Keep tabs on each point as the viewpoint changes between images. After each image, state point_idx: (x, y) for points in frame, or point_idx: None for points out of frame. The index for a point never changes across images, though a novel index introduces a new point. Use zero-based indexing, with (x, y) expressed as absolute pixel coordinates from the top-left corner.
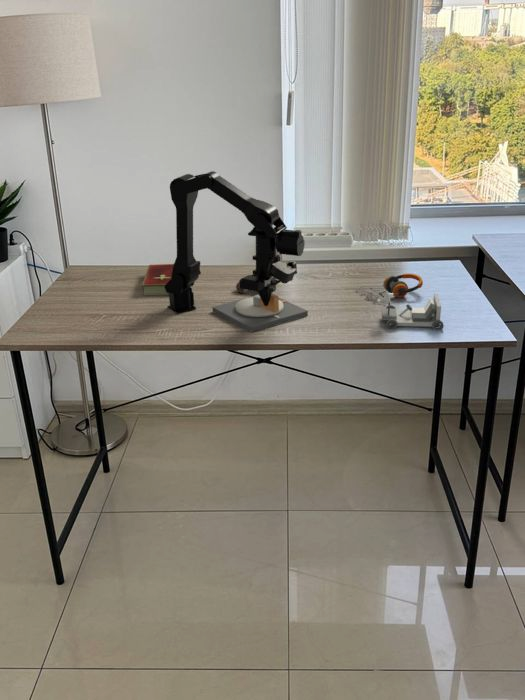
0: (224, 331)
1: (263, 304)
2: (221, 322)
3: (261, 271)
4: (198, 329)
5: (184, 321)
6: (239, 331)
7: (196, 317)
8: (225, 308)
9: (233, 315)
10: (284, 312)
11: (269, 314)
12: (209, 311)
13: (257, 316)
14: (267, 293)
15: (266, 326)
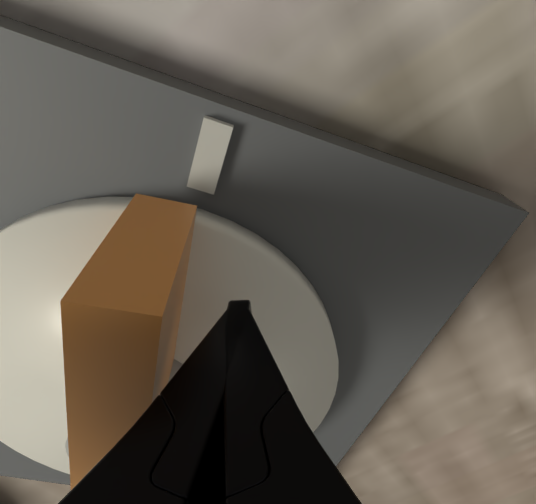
0: (525, 333)
1: (171, 360)
2: (401, 406)
3: None
4: (529, 428)
5: (452, 499)
6: (502, 268)
7: (390, 494)
8: None
9: (353, 408)
10: (58, 168)
11: (236, 232)
12: None
13: (313, 290)
14: (312, 439)
15: (370, 149)
